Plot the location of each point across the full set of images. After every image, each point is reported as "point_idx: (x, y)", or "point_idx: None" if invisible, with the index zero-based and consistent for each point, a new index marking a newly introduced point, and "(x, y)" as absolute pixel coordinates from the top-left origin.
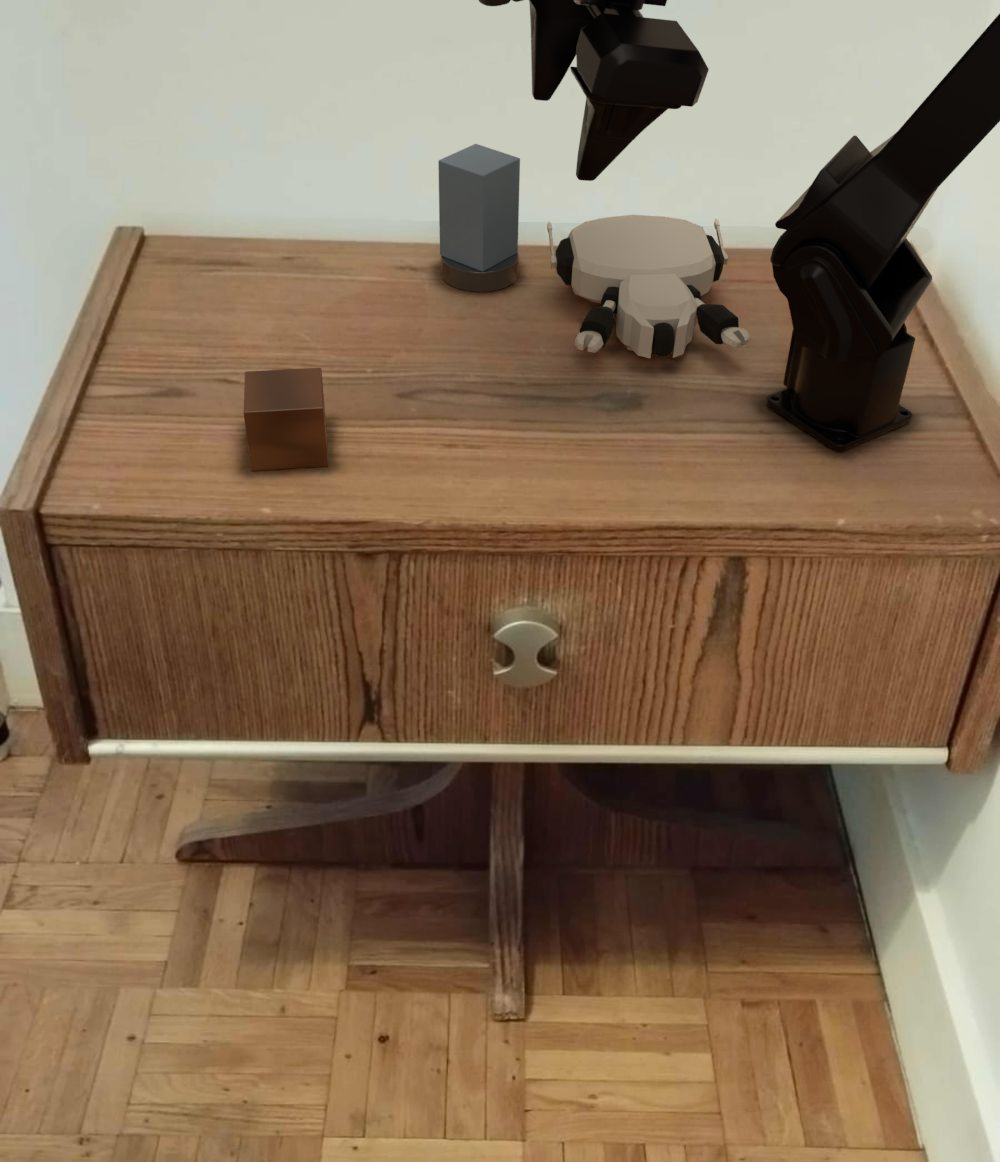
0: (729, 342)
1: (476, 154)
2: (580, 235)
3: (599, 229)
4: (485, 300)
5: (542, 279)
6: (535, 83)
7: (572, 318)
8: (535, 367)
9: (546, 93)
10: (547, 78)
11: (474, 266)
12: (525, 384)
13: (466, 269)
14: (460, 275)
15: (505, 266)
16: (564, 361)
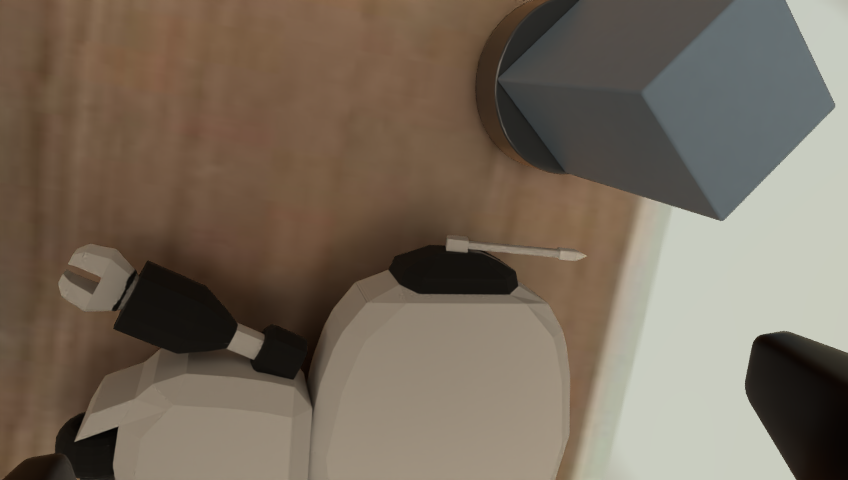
0: None
1: (773, 96)
2: (498, 321)
3: (515, 366)
4: (440, 78)
5: (506, 213)
6: (811, 369)
7: (339, 253)
8: (124, 142)
9: (767, 396)
10: (820, 436)
11: (516, 62)
12: (40, 106)
13: (515, 43)
14: (509, 28)
15: (514, 136)
16: (149, 212)
